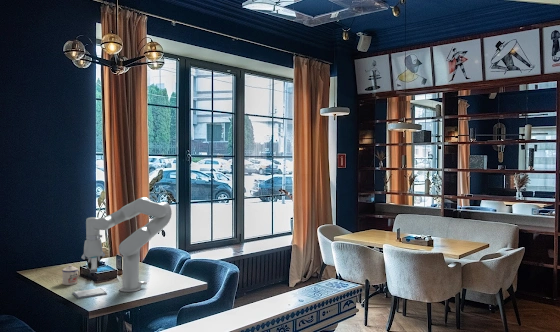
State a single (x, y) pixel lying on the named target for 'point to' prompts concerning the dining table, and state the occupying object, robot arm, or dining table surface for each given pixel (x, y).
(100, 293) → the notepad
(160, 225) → the robot arm
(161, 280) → the dining table surface
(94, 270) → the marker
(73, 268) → the teacup with lid
